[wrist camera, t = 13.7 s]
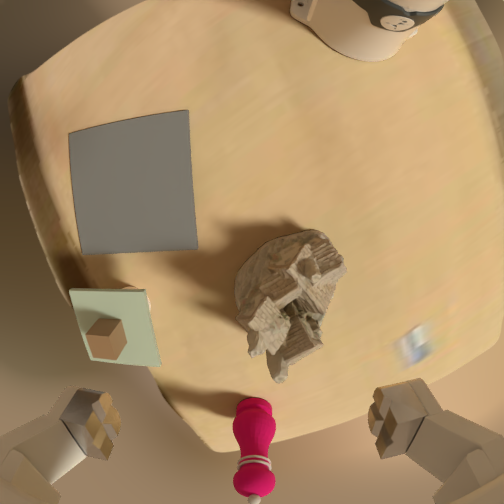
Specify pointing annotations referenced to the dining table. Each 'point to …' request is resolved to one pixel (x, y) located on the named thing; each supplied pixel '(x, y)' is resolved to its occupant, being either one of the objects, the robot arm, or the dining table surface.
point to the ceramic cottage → (287, 297)
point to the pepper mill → (254, 448)
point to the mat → (134, 185)
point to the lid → (116, 325)
